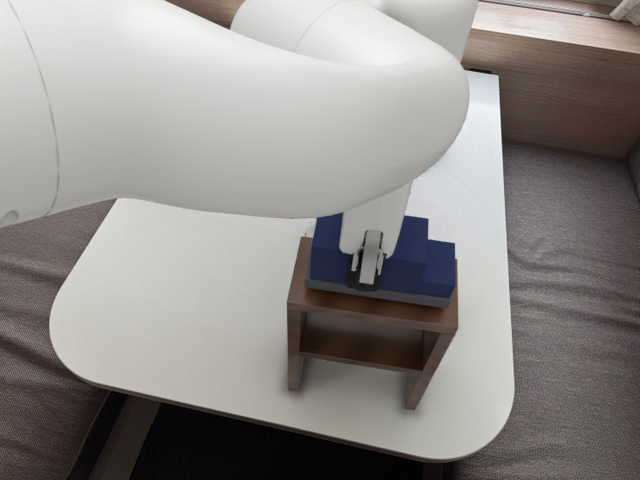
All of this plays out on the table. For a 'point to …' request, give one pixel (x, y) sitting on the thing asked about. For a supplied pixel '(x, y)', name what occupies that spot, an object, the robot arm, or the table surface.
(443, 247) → the blue stepped block
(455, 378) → the table surface
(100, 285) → the table surface
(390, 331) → the shoe stand
